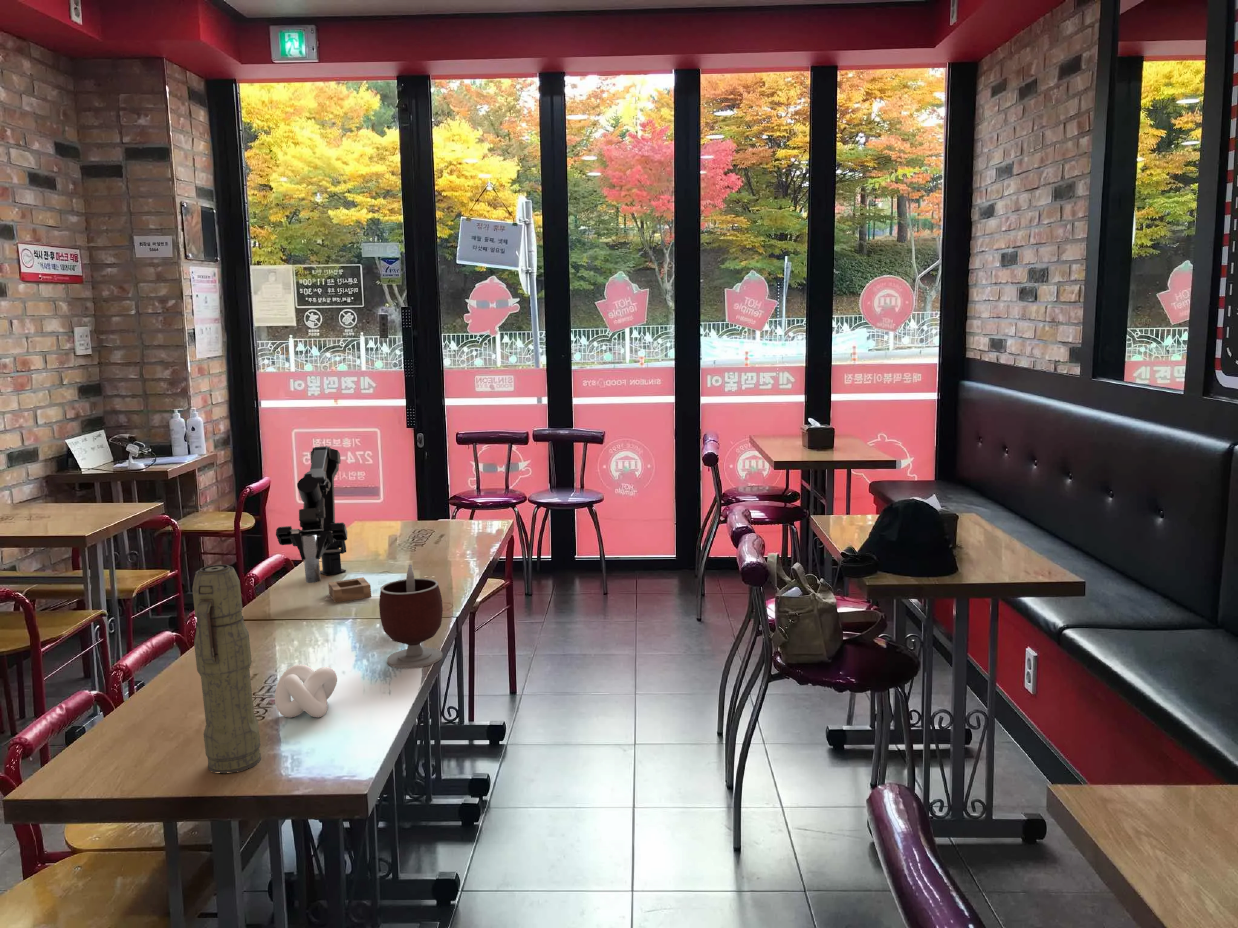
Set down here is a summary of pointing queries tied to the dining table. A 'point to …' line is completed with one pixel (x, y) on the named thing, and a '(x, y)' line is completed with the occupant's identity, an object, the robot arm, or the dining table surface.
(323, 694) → the white knot
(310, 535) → the pin
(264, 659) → the dining table surface
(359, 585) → the socket block
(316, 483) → the robot arm
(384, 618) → the mate gourd
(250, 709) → the thermos
